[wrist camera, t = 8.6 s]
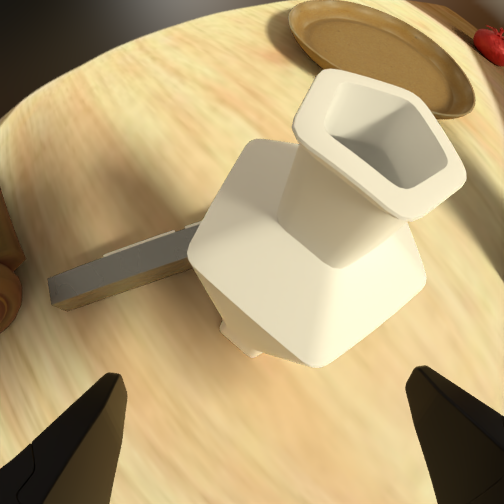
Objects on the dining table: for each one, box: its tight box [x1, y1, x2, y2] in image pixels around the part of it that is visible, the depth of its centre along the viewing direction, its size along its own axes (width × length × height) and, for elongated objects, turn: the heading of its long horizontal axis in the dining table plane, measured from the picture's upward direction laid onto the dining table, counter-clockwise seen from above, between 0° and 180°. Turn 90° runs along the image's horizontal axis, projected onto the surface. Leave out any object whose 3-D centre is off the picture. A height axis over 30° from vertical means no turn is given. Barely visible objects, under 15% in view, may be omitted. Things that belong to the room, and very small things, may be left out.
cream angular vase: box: [187, 69, 466, 368], centre depth 10 cm, size 5×4×15 cm
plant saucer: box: [288, 0, 475, 119], centre depth 27 cm, size 24×24×3 cm
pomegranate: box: [473, 26, 504, 66], centre depth 35 cm, size 10×10×9 cm
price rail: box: [48, 221, 202, 311], centre depth 17 cm, size 2×22×2 cm, turn 111°
